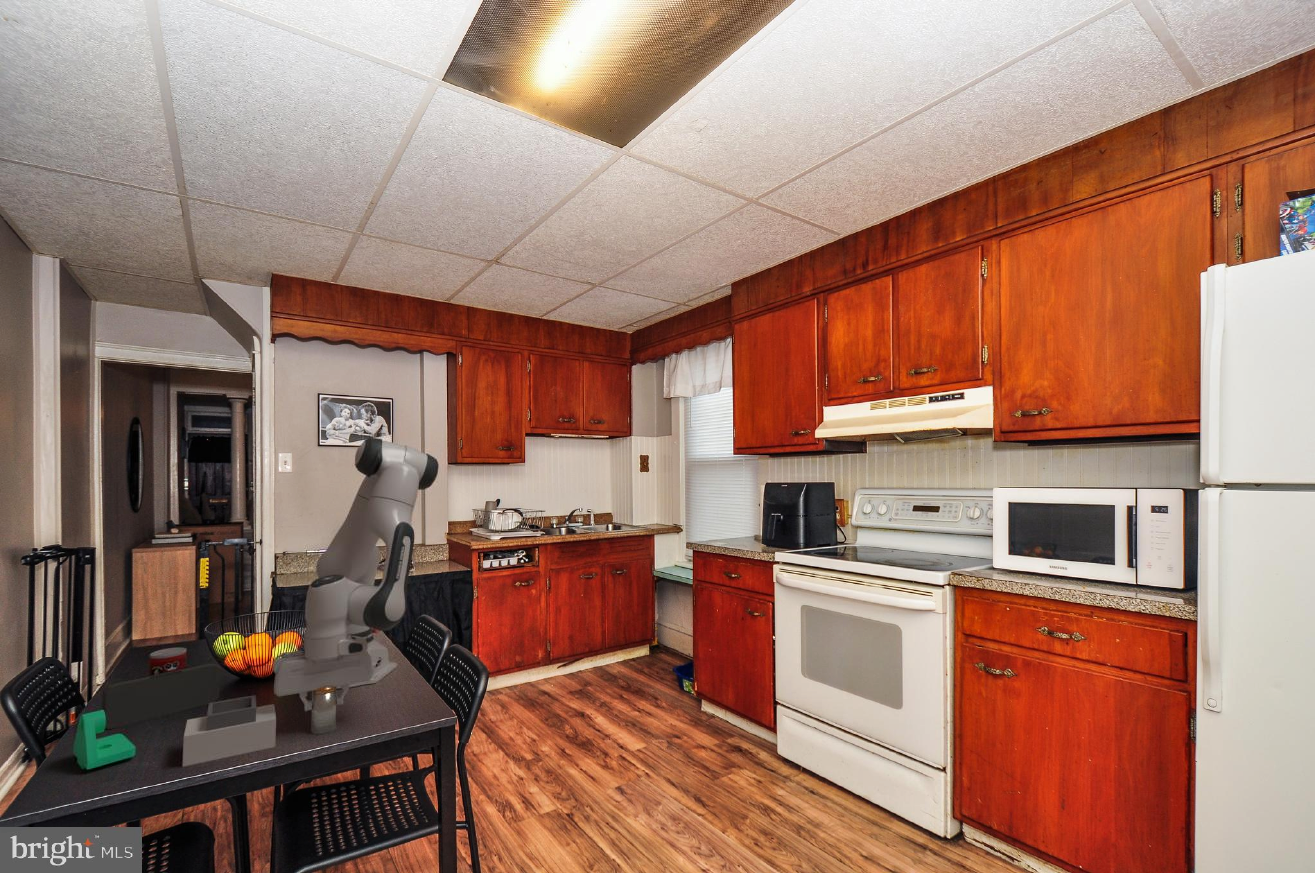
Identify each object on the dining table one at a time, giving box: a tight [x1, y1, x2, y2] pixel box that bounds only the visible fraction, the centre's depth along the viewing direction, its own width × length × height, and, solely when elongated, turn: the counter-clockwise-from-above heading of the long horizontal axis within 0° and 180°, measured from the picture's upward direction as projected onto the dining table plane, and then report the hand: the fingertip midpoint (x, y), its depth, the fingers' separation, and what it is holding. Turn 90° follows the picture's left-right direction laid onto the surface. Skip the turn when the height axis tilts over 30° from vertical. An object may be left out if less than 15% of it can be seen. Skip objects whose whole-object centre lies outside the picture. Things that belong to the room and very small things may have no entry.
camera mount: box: [72, 709, 136, 771], centre depth 129 cm, size 12×8×10 cm, turn 53°
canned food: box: [148, 647, 187, 676], centre depth 166 cm, size 8×8×11 cm
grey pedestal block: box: [182, 694, 277, 768], centre depth 134 cm, size 16×10×9 cm, turn 124°
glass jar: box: [310, 686, 338, 735], centre depth 143 cm, size 5×5×10 cm
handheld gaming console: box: [101, 662, 221, 730], centre depth 152 cm, size 23×3×10 cm, turn 143°
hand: (324, 706), depth 143 cm, fingers closed on glass jar, 5 cm apart
